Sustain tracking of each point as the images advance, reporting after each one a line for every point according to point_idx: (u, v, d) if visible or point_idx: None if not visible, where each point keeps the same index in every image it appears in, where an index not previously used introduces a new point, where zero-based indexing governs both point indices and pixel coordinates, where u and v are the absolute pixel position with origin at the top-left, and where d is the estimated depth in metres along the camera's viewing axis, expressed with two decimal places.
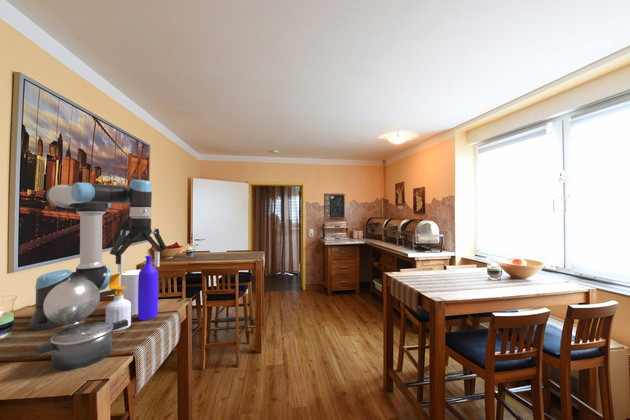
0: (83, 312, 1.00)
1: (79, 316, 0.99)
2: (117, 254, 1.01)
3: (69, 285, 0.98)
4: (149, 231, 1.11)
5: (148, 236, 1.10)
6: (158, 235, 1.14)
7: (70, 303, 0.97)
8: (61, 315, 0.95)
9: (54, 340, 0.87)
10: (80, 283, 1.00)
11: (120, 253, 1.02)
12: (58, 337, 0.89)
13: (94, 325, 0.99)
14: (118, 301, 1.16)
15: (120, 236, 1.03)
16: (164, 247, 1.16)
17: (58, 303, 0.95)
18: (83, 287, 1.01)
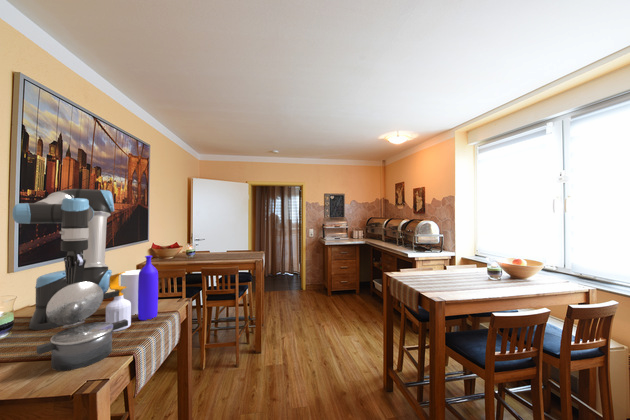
0: (84, 313, 1.00)
1: (80, 317, 0.99)
2: None
3: (74, 288, 0.95)
4: (74, 256, 0.96)
5: (69, 262, 0.96)
6: (75, 267, 0.95)
7: (73, 305, 0.96)
8: (63, 317, 0.94)
9: (54, 340, 0.87)
10: (86, 286, 0.98)
11: (68, 283, 0.98)
12: (58, 337, 0.89)
13: (94, 325, 0.99)
14: (118, 301, 1.16)
15: None
16: None
17: (61, 306, 0.93)
18: (88, 290, 0.99)
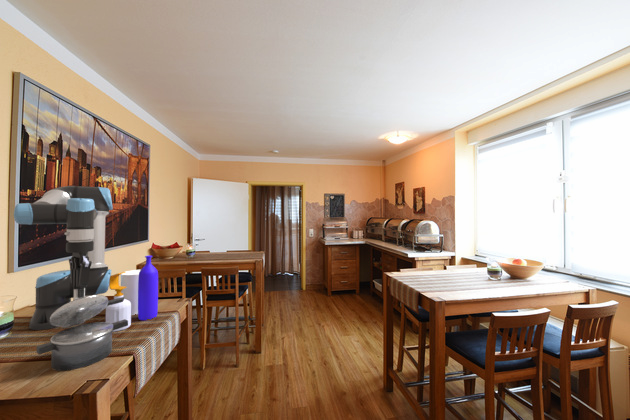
0: (86, 317, 0.99)
1: (81, 320, 0.98)
2: None
3: (82, 302, 0.92)
4: (79, 257, 0.93)
5: (75, 264, 0.94)
6: (80, 269, 0.93)
7: (77, 313, 0.94)
8: (65, 321, 0.93)
9: (54, 340, 0.87)
10: (93, 299, 0.95)
11: (73, 285, 0.95)
12: (58, 337, 0.89)
13: (94, 325, 0.99)
14: None
15: None
16: (78, 285, 0.93)
17: (65, 314, 0.91)
18: (94, 302, 0.96)
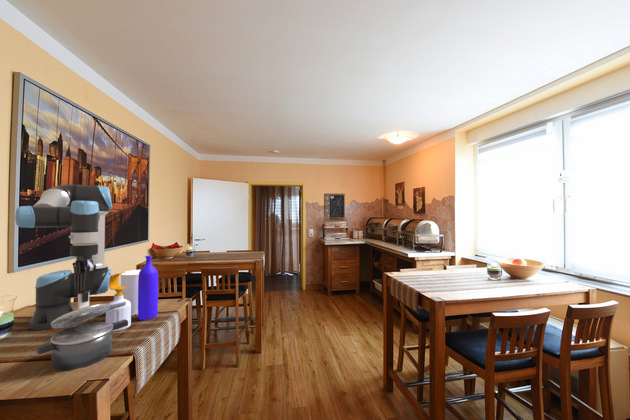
0: (86, 319, 0.99)
1: (81, 321, 0.98)
2: None
3: (84, 311, 0.91)
4: (83, 261, 0.91)
5: (79, 268, 0.92)
6: (85, 273, 0.91)
7: (78, 318, 0.94)
8: (65, 324, 0.93)
9: (54, 340, 0.87)
10: (95, 308, 0.93)
11: (77, 289, 0.93)
12: (58, 337, 0.89)
13: (94, 325, 0.99)
14: (118, 301, 1.16)
15: None
16: (83, 289, 0.91)
17: (67, 320, 0.90)
18: (97, 309, 0.95)
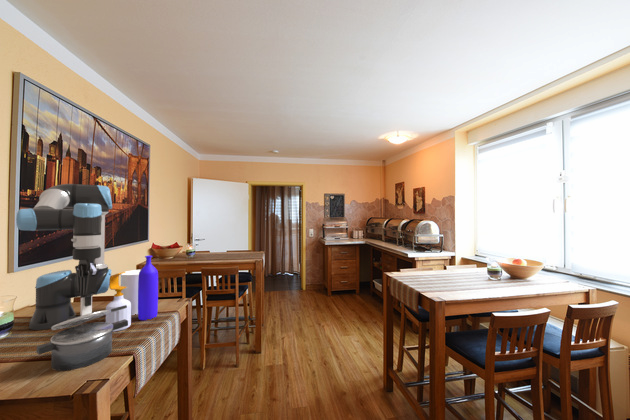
0: (87, 320, 0.99)
1: (81, 322, 0.98)
2: None
3: (85, 317, 0.90)
4: (86, 265, 0.90)
5: (82, 272, 0.91)
6: (88, 277, 0.89)
7: (78, 321, 0.93)
8: (65, 326, 0.93)
9: (54, 340, 0.87)
10: (97, 314, 0.93)
11: (80, 293, 0.92)
12: (58, 337, 0.89)
13: (94, 325, 0.99)
14: (118, 301, 1.16)
15: None
16: (86, 293, 0.90)
17: (67, 324, 0.90)
18: (98, 314, 0.94)
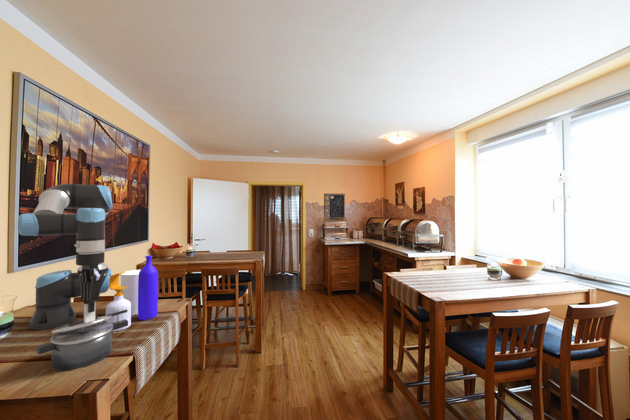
0: None
1: None
2: None
3: (86, 325, 0.90)
4: (90, 270, 0.89)
5: (85, 277, 0.89)
6: (91, 282, 0.88)
7: None
8: None
9: (54, 340, 0.87)
10: None
11: (83, 299, 0.91)
12: (58, 337, 0.89)
13: (94, 325, 0.99)
14: (118, 301, 1.16)
15: None
16: (89, 299, 0.89)
17: None
18: None
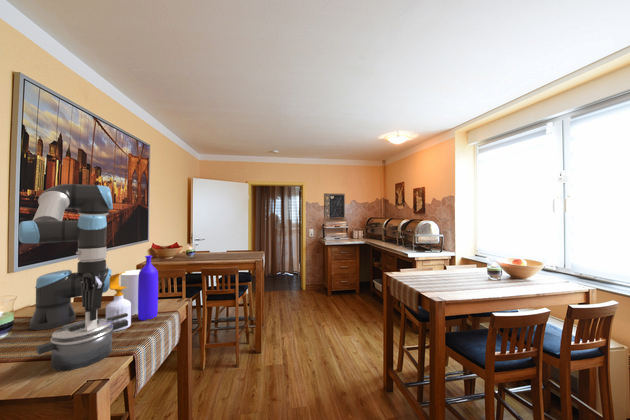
0: None
1: None
2: None
3: None
4: (91, 278, 0.88)
5: (87, 285, 0.89)
6: (93, 290, 0.87)
7: None
8: None
9: (54, 340, 0.87)
10: None
11: (85, 307, 0.90)
12: None
13: None
14: (118, 301, 1.16)
15: None
16: (91, 307, 0.88)
17: None
18: None
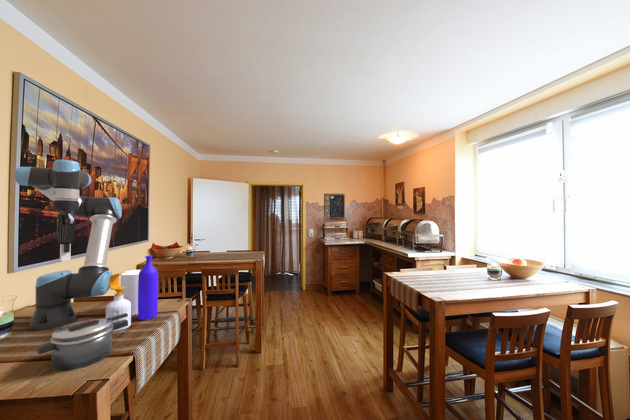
0: None
1: None
2: None
3: None
4: (65, 215, 1.01)
5: (61, 221, 1.01)
6: (66, 225, 1.00)
7: None
8: None
9: (54, 340, 0.87)
10: None
11: (60, 241, 1.03)
12: None
13: None
14: (118, 301, 1.16)
15: None
16: (64, 240, 1.00)
17: None
18: None
